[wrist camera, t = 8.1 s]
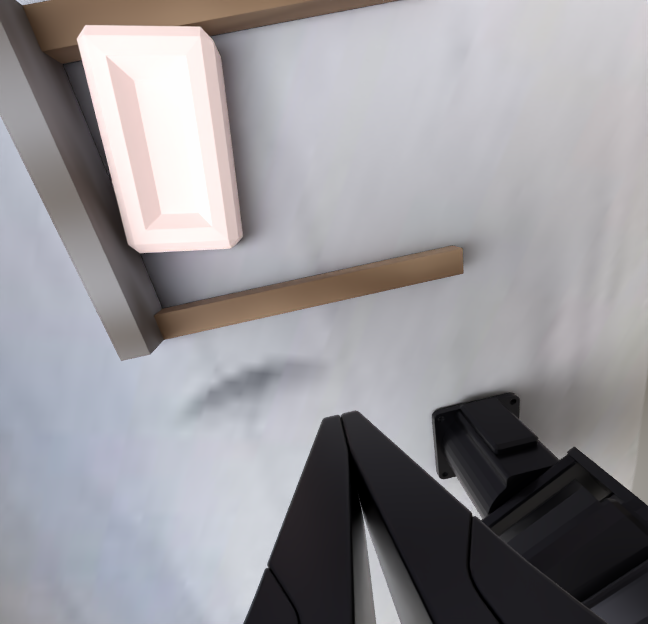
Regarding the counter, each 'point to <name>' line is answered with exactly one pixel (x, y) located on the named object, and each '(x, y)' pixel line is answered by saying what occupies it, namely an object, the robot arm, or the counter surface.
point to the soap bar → (164, 134)
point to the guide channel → (98, 194)
